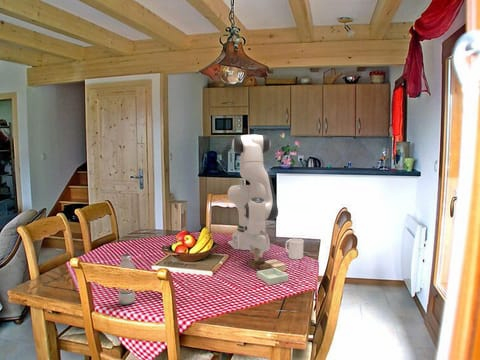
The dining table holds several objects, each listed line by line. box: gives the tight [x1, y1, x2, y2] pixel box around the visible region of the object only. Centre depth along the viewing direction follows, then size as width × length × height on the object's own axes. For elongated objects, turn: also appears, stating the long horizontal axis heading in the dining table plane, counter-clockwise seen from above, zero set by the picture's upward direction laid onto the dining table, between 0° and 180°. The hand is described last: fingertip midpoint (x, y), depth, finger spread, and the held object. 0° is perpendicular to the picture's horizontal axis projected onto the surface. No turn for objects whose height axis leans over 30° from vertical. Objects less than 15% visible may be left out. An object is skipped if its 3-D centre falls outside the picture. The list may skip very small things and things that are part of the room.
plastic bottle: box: [117, 253, 136, 306], centre depth 154 cm, size 6×7×20 cm
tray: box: [256, 268, 290, 286], centre depth 184 cm, size 11×11×3 cm
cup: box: [284, 238, 305, 261], centre depth 219 cm, size 8×12×10 cm
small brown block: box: [259, 264, 271, 271], centre depth 195 cm, size 4×4×3 cm
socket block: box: [247, 257, 265, 270], centre depth 200 cm, size 6×6×4 cm
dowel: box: [253, 247, 260, 261], centre depth 200 cm, size 2×2×10 cm
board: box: [263, 258, 287, 272], centre depth 197 cm, size 10×7×4 cm
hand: (256, 255), depth 200 cm, fingers open, 7 cm apart
